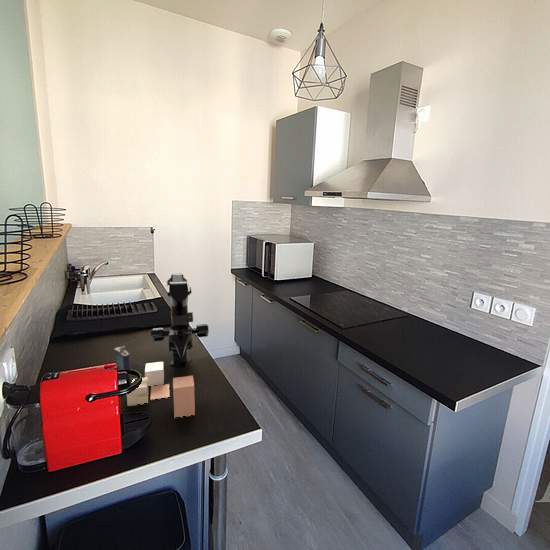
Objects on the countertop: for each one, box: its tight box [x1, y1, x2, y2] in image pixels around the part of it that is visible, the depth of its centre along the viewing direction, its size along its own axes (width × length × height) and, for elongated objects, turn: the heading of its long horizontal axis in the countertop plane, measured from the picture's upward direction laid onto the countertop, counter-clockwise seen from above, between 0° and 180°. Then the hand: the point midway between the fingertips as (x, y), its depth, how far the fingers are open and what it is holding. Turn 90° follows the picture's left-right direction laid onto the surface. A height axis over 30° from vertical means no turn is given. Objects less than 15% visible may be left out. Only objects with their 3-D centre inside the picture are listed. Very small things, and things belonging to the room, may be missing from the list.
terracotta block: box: [172, 375, 196, 419], centre depth 102 cm, size 6×6×10 cm
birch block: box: [126, 376, 150, 407], centre depth 107 cm, size 6×6×6 cm
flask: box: [113, 345, 131, 371], centre depth 122 cm, size 9×3×11 cm, turn 48°
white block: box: [144, 361, 165, 386], centre depth 118 cm, size 6×6×6 cm
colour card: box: [149, 383, 171, 401], centre depth 112 cm, size 8×6×1 cm
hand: (181, 357), depth 110 cm, fingers closed
